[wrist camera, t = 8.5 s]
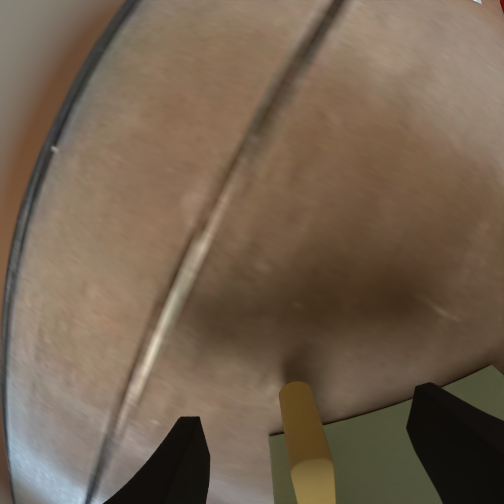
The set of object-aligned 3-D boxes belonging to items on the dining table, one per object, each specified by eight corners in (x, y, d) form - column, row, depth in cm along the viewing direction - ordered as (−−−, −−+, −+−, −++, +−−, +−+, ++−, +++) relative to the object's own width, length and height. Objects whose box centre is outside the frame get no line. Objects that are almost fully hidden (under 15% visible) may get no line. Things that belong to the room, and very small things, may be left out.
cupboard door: (250, 367, 16) (254, 510, 7) (501, 295, 15) (596, 353, 7) (271, 445, 17) (282, 565, 9) (489, 375, 17) (558, 443, 8)
